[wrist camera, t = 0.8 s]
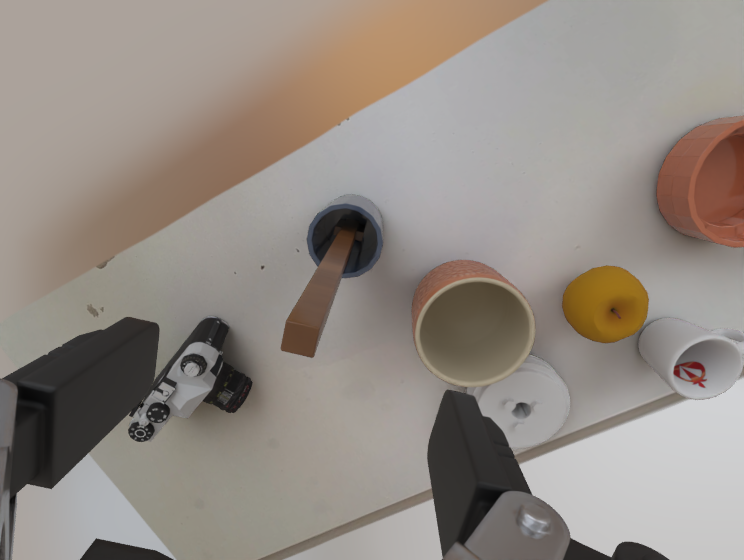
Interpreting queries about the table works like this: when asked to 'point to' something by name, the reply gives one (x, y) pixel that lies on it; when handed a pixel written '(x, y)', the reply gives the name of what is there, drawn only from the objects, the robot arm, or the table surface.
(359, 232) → the stick
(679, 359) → the cup
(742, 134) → the bowl
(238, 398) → the camera
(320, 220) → the crock
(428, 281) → the planter
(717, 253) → the table surface
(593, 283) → the apple
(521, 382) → the white thick round disc
